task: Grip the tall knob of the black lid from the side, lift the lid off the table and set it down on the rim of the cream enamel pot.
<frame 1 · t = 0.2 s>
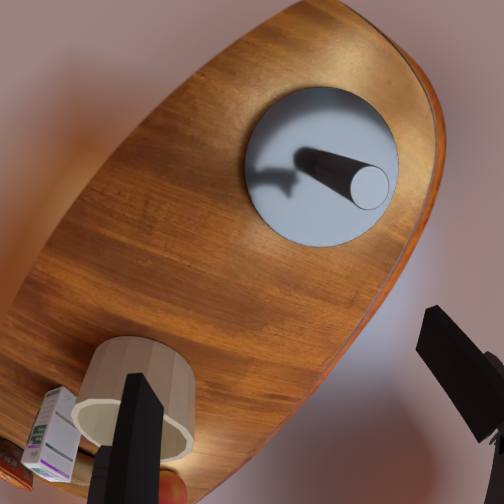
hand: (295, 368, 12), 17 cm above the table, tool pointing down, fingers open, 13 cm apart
syrup box: (67, 398, 35), on the table
lid: (327, 168, 25), point 1 cm above the table
food container: (16, 449, 45), on the table
apple: (166, 471, 46), on the table
bread roll: (77, 450, 42), on the table
pot: (142, 375, 33), on the table
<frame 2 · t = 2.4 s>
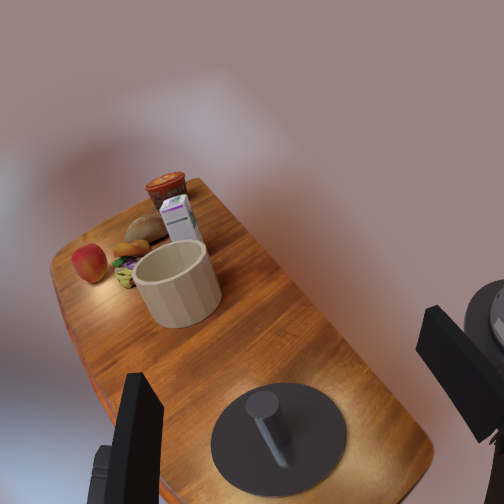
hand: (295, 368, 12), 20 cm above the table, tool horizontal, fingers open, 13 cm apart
syrup box: (194, 258, 68), on the table
lid: (277, 437, 27), point 1 cm above the table
food container: (172, 204, 110), on the table
cheeseburger: (138, 275, 67), on the table
apple: (98, 279, 70), on the table
bread roll: (151, 242, 83), on the table
pot: (186, 302, 53), on the table
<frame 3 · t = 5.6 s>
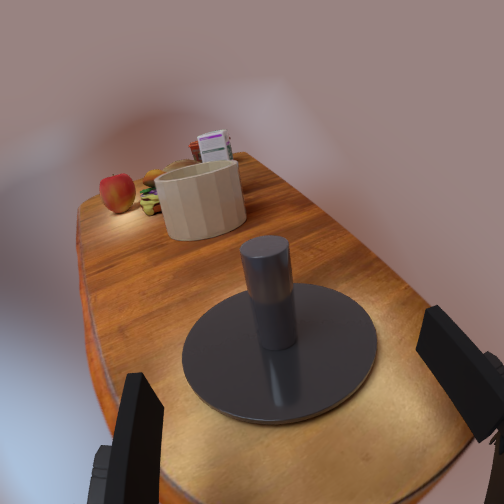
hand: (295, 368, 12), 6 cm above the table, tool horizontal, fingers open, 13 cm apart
syrup box: (225, 196, 64), on the table
lid: (278, 341, 21), point 1 cm above the table
food container: (214, 166, 108), on the table
cheeseburger: (164, 207, 65), on the table
apple: (122, 212, 70), on the table
bread roll: (185, 187, 81), on the table
pot: (206, 223, 50), on the table
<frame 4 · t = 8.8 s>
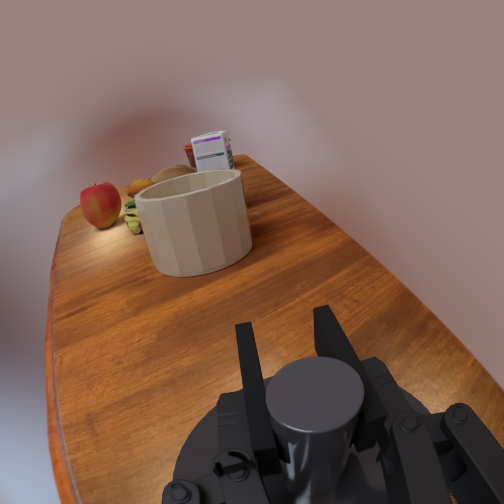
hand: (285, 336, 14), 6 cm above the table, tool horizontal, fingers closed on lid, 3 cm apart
syrup box: (225, 210, 54), on the table
lid: (313, 474, 11), point 1 cm above the table, touching gripper
food container: (212, 171, 98), on the table
cheeseburger: (153, 224, 55), on the table
apple: (107, 226, 60), on the table
bread roll: (179, 197, 71), on the table
pot: (202, 250, 40), on the table
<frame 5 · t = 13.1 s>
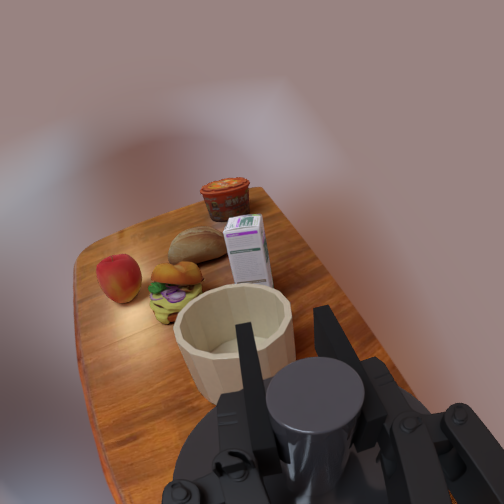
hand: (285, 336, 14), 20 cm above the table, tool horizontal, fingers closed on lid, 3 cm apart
syrup box: (257, 298, 52), on the table
lid: (313, 474, 11), point 15 cm above the table, touching gripper
food container: (230, 215, 96), on the table
cheeseburger: (180, 307, 53), on the table
apple: (127, 299, 58), on the table
bread roll: (201, 261, 69), on the table
pot: (245, 369, 37), on the table
when the fingers open (15 cm above the table, at t = 17.6 s): lid stays where it is, resting on pot.
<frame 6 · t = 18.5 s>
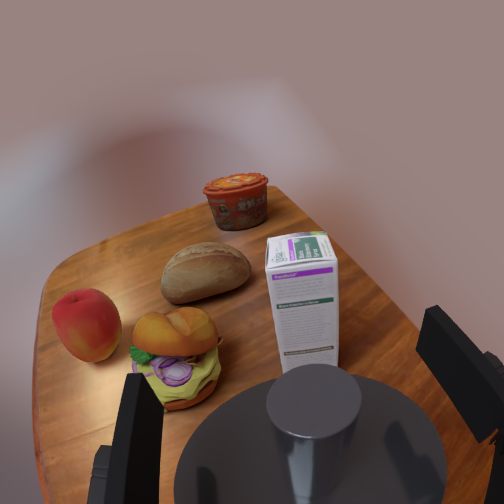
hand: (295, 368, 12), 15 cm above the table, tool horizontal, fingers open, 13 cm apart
syrup box: (308, 365, 31), on the table
lid: (312, 476, 12), point 9 cm above the table, touching pot
food container: (242, 221, 75), on the table
cheeseburger: (183, 379, 31), on the table
apple: (103, 353, 36), on the table
bread roll: (209, 292, 47), on the table
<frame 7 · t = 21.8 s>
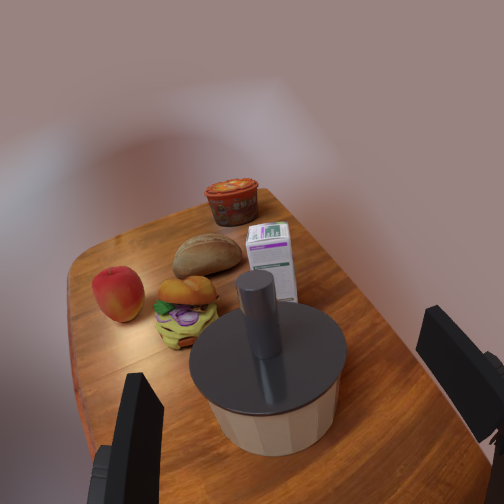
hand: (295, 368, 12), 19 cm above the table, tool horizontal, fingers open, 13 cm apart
syrup box: (280, 317, 45), on the table
lid: (267, 351, 26), point 9 cm above the table, touching pot
food container: (236, 219, 89), on the table
cheeseburger: (191, 328, 46), on the table
apple: (128, 317, 51), on the table
bread roll: (210, 272, 62), on the table
pot: (276, 405, 30), on the table
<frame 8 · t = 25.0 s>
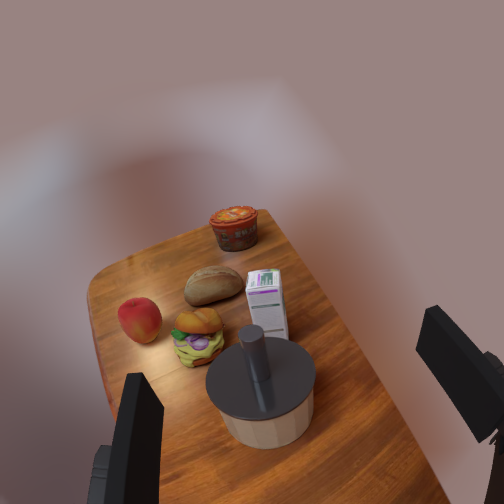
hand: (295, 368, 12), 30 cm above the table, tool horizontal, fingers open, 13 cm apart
syrup box: (273, 341, 56), on the table
lid: (260, 375, 37), point 9 cm above the table, touching pot
food container: (238, 243, 100), on the table
cheeseburger: (202, 349, 56), on the table
apple: (148, 338, 61), on the table
bread roll: (216, 298, 72), on the table
pot: (268, 412, 41), on the table
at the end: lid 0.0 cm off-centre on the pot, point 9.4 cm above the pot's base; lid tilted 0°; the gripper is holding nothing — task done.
